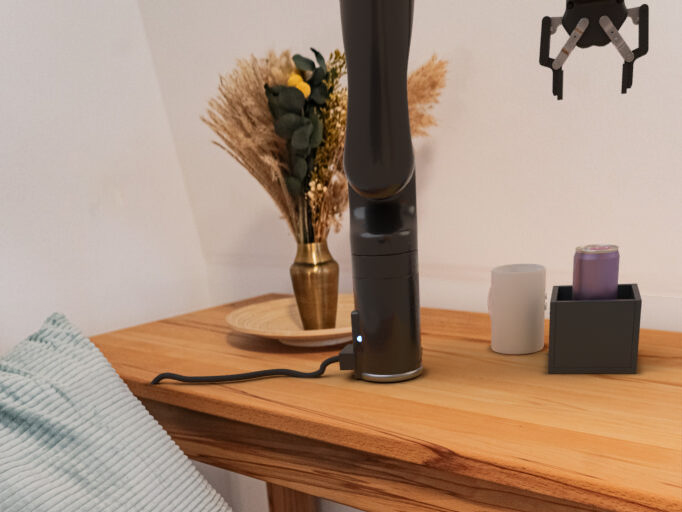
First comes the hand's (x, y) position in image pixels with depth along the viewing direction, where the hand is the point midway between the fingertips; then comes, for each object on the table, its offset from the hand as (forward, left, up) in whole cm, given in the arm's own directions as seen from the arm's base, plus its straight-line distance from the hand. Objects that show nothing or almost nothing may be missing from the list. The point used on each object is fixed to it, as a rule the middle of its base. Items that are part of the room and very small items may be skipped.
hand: (591, 97), depth 117 cm
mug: (-10, -3, -34) cm, 36 cm away
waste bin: (+2, -13, -34) cm, 37 cm away
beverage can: (+2, -13, -34) cm, 36 cm away
